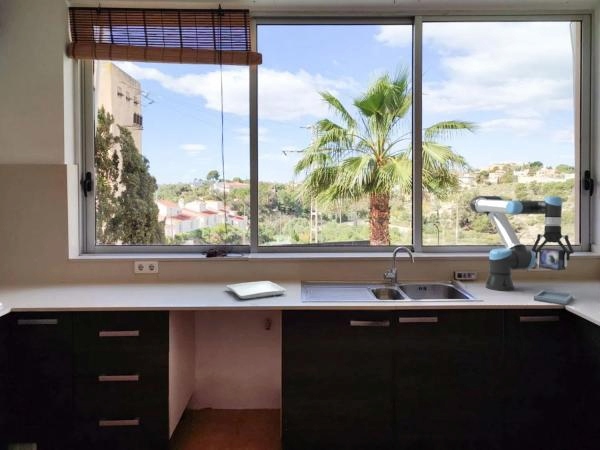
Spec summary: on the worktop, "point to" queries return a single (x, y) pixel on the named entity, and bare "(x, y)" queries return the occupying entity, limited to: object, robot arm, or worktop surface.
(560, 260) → the small box
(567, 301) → the tray
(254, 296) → the square plate
